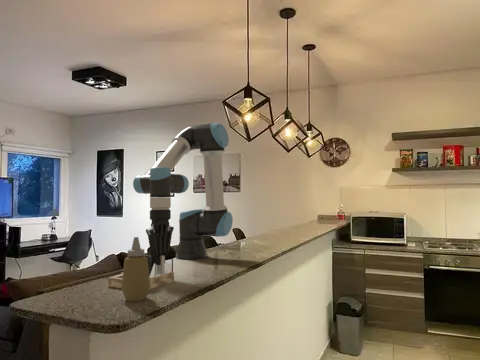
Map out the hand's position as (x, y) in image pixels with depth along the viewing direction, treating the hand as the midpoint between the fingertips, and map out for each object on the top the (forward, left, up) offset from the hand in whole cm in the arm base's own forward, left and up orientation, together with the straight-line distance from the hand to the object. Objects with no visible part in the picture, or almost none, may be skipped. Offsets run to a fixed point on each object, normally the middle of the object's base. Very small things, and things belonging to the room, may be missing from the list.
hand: (160, 273), depth 133 cm
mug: (+9, 0, -2) cm, 10 cm away
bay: (+8, 0, -2) cm, 8 cm away
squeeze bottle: (+24, +12, -2) cm, 27 cm away
